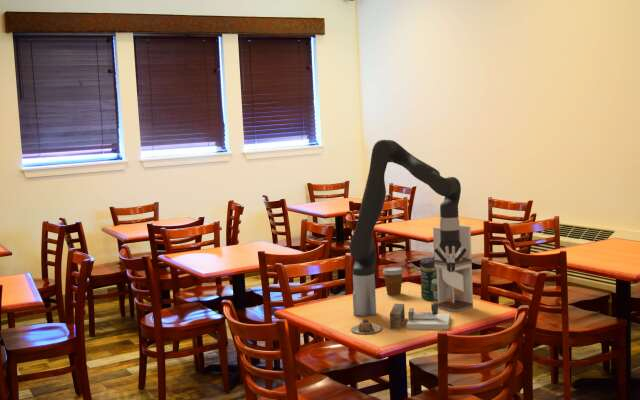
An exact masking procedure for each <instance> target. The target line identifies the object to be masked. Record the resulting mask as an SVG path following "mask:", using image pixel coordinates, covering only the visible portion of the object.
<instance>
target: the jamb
mask: <svg viewBox="0 0 640 400" xmlns="http://www.w3.org/2000/svg"><path fill="white" fill-rule="evenodd" d="M405 317H406V313H405V303H394V304H393V306H392V308H391V311H390V312H389V326H390V327H389V329H390V330H401V329H402V326H403V323H404V321H405V319H406V318H405Z"/></svg>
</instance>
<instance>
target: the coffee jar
mask: <svg viewBox="0 0 640 400" xmlns="http://www.w3.org/2000/svg"><path fill="white" fill-rule="evenodd" d="M419 263H420V264H419V266H420V267H419V268H420V279H421V280H420V283H421V284H420V290H421V294H420V295H421V298H422V299H424V300H426V301H433V302H436V301H438V293H437V268H436V267H435V264H434V258H432V257H431V256H430V257H429V256H428V257H424V258H421V260H420V261H419Z"/></svg>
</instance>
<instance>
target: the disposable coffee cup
mask: <svg viewBox="0 0 640 400" xmlns="http://www.w3.org/2000/svg"><path fill="white" fill-rule="evenodd" d="M382 273H383V275H384V278H383V279H384V282H385V290H386V295H387V296H393V297H394V296H399V295H401V293H402V284H403V283H402V279H403V273H404V270H403V268H402V267H399V266H388V267H385V268H383V270H382Z"/></svg>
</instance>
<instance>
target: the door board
mask: <svg viewBox="0 0 640 400" xmlns="http://www.w3.org/2000/svg"><path fill="white" fill-rule="evenodd" d="M408 309H409V310H408V320H407V322H406V330H449V329H450V328H449V326H450V321H451V313H439V312H438V314H437V317H436V319H413V315H412V314H413V312H415V310H414V307H409V308H408Z"/></svg>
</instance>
